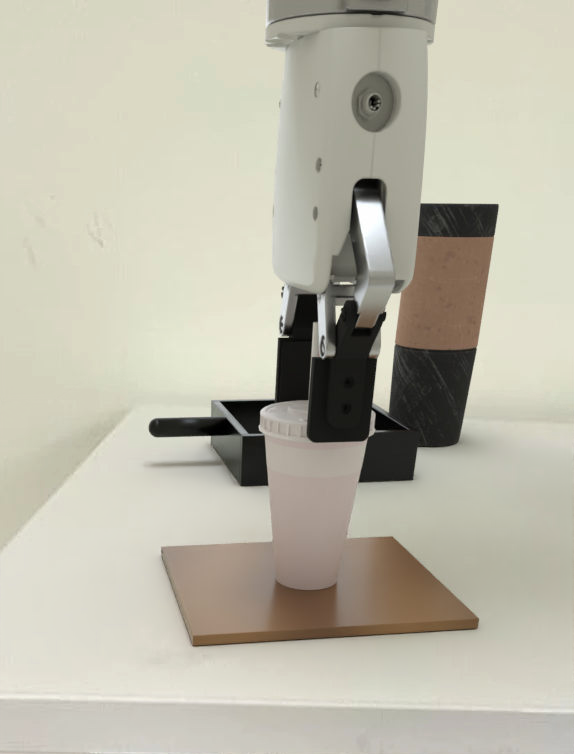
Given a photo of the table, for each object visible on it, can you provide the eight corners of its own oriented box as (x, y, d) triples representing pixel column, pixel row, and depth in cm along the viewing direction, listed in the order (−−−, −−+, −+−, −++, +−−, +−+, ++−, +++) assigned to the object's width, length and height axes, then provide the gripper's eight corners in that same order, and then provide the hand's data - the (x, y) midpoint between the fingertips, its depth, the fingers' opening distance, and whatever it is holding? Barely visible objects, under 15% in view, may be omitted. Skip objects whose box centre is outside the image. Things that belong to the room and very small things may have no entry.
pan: (358, 439, 86) (363, 396, 84) (413, 479, 74) (420, 431, 72) (140, 445, 83) (139, 401, 81) (159, 488, 71) (158, 438, 69)
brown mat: (391, 544, 60) (392, 536, 59) (477, 628, 48) (479, 618, 48) (161, 555, 57) (161, 546, 57) (192, 646, 46) (192, 635, 45)
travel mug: (465, 449, 83) (506, 203, 72) (384, 445, 84) (413, 203, 73) (458, 431, 89) (494, 203, 79) (383, 428, 90) (409, 203, 80)
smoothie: (327, 554, 56) (347, 314, 48) (379, 590, 51) (410, 328, 43) (236, 567, 54) (242, 319, 46) (281, 605, 49) (296, 334, 41)
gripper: (522, -39, 31) (444, 463, 41) (369, 36, 46) (338, 394, 55) (323, -49, 30) (290, 469, 40) (231, 31, 45) (223, 397, 54)
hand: (318, 422), depth 48 cm, fingers closed on smoothie, 6 cm apart
